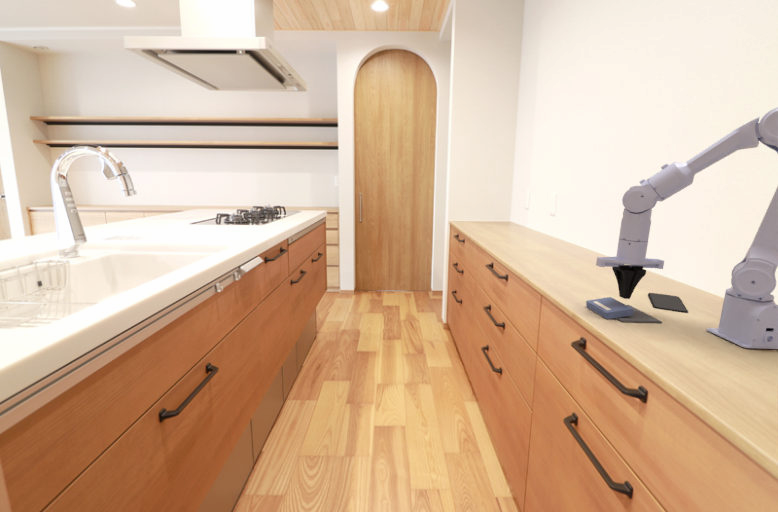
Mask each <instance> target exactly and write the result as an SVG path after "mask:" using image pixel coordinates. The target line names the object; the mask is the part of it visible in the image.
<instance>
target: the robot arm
mask: <svg viewBox="0 0 778 512" xmlns="http://www.w3.org/2000/svg"><path fill="white" fill-rule="evenodd" d="M760 117H761V116H758V117H756V118H754V119H753V118H752V120H749V121H748V122H746V123H745V124H742V125H741V126H739V127H737V128H736V129H734V130H732V131H730V132H729V133H727V134H726V135H724V136H723V137H721V138H720V139H719V140H717V141H716V142H713V143H712V144H711V145H710V146H708V147H707V148H705V149H704V150H701V152H698V154H696V155H694V156H693V157H691V158H690V159H689V160H686V161H685V162H680V161H674V162H672V163H670V164H669V163H665V164H663V165H662V166H661V167H660V169H661V170H660V171H658V172H656V173H655V174H653V175H652V176H650V177H648V178H647V179H644V178H643V179H641V180H640V181H639V184H640V185H632V186H630V188H629V189H628V190H627V191H625V192H624V193H623V196H622V199H621V201H622V205H623V207H624V208H623V212H622V218H621V223H620V228H619V235H618V243H617V250H616V256H601V257H600V256H598V257H596V262H595V263H596V264H595V266H597V267H599V268H606V267H610V268H611V267H612V268H611V269H612V271H613V273H614V276H615V278H616V281H617V287H618V294H619V295H618V297H620V298H622V299H625V300H630V299H631V297H632V295H633V293H634V291H635V289H636V287H637V286H638V284H639V282H640V281H641V280H642V279H643V278H644V277H645V276H646V274H647V270H646V269H657V270H658V269H659V270H663V269H664V266H665V260H662V259H659V258H647V251H648V245H649V239H650V232H651V225H652V220H651V219H652V212H653V210H652V209H653V208H654V207H656V205H657V202H664V201H665V200H667V199H668V198H670V197H672V196H673V195H675V194H678V193H679V192H680V191H682V190H684V189H686V188H687V187H689V186H691V185H692V184H693V182H694V179H695V176H696V175H697V174H698V173H700V172H702V171H703V170H705V169H707V168H709V167H710V166H713V165H714V164H716V163H717V162H719V161H721V160H723V159H725V158H726V157H729V156H730V155H731V154H734V153H736V152H737V151H740V150H748V149H756V148H758V147H759V144H760V143H761V144H763V145H764V146H766V147H767V148H769V149H771V150H773V151H775V152H776V154H778V106H777V107H775V108H773V109H770V110H769V111H768V112H766V113H765V114H764V115H763V116H762V117H761V119H760ZM777 268H778V186H777V187H776V188H775V191H774V194H773V196H772V198H771V200H770V202H769V205H768V207H767V209H766V212H765V213H764V215H763V218H762V221H761V223H760V225H759V226H758V229H757V231H756V234H755V236H754V237H753V240H752V242H751V244H750V246H749V248H748V249H747V252H746V254H745V256H744V258H743V259H742V260H741V261H740V262H738V263H737V264H736V265H734V266H733V269H732V270H731V279H730V284H731V287H729V288H726V289H725V291H724V297H723V301H722V308H721V313H720V316H719V322H718V323H719V324H718V327H717V328H716V327H715V328H714V327H707V328H706V331H707V332H709V333H712V334H714V335H715V336H718V337H720V338H722V339H724V340H727V341H728V342H731V343H733V344H735V345H738V346H739V347H742V348H744V349H760V350H761V349H764V350H765V349H766V350H767V349H768V350H769V349H770V350H778V304H777V303H776V302H775V296H774V295H773V294H771V293H773V292H774V290H775V289H776V286H777V280H776V271H777Z"/></svg>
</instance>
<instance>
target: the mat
mask: <svg viewBox="0 0 778 512" xmlns="http://www.w3.org/2000/svg"><path fill="white" fill-rule="evenodd" d="M626 305H627V306H629V307H631V308H633V315H632V316H626V317H619V318H614V319H616V320H618V321H619V322H620V323H636V324H637V323H639V324H643V323H645V324H662V323H663V321H662V320H660V319H658V318H656V317H655V316H652V315H649V314H648V313H646V312H644V311H642V310H640V309H638V308H636V307H633V306H632V305H630V304H626Z"/></svg>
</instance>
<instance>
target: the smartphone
mask: <svg viewBox="0 0 778 512" xmlns="http://www.w3.org/2000/svg"><path fill="white" fill-rule="evenodd" d="M647 296H648V299H649V301H650V305H652V308H653V309H657V310H663V311H670V312H676V313H683V314H688V313H689V310H688V309H687V307H686V306H685V304H684V302H683V301H682V299H681V298H680V297H679V296H678V295H670V294H662V293H655V292H649V293H648V292H647Z"/></svg>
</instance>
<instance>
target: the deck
mask: <svg viewBox="0 0 778 512" xmlns="http://www.w3.org/2000/svg"><path fill="white" fill-rule="evenodd" d="M585 304H586V305H585V306H586V308H587V309H589V310H591V311H593V312H594V313H596V314H597V315H599V316H601V317H602V318H604V319H606V320H612V319H615V318H619V317H626V316H632V315H633V308H631V307H629V306H627V305H628V304H626V303H623V302H621V301H619V300H617V299H615V298H613V297H611V296H609V297H602V298H595V299H588V300H586V301H585Z"/></svg>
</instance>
